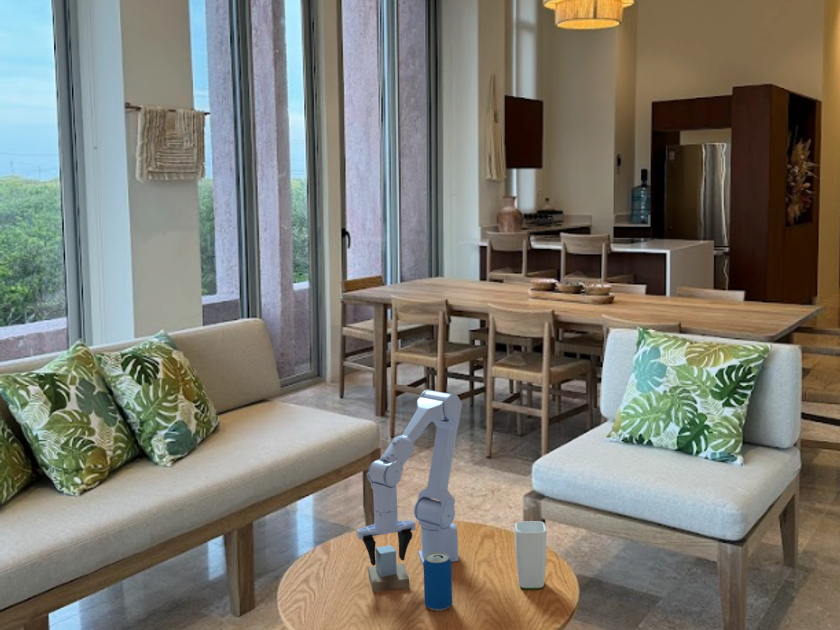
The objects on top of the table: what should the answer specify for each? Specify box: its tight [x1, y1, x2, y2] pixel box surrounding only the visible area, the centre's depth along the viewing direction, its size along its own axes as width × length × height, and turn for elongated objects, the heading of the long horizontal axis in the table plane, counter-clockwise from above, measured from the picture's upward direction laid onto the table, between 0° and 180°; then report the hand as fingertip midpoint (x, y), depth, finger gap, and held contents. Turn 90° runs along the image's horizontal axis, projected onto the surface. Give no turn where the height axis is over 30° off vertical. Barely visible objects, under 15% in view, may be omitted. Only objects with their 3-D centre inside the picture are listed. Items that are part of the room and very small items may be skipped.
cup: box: [514, 520, 547, 590], centre depth 218 cm, size 7×7×15 cm
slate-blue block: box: [375, 544, 397, 577], centre depth 223 cm, size 4×4×6 cm
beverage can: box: [422, 552, 453, 612], centre depth 209 cm, size 6×6×12 cm
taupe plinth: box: [367, 563, 410, 593], centre depth 223 cm, size 9×9×3 cm
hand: (387, 561), depth 222 cm, fingers open, 7 cm apart
